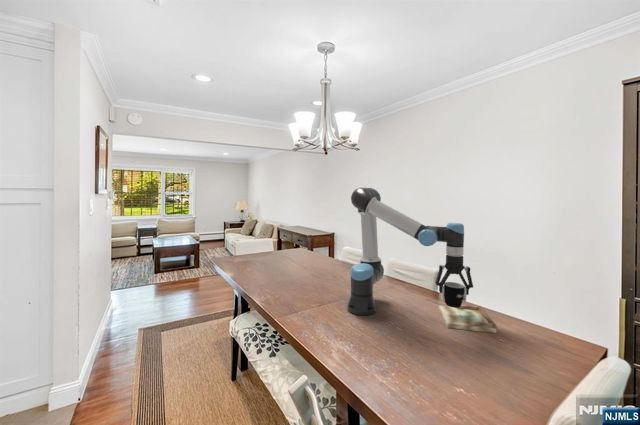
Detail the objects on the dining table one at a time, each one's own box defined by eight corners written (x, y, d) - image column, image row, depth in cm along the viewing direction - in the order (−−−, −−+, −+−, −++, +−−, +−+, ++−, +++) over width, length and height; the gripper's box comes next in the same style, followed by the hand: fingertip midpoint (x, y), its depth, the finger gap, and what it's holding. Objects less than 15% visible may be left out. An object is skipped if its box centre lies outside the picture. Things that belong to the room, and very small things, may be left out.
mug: (456, 310, 126) (457, 289, 125) (438, 303, 134) (440, 283, 133) (470, 305, 132) (472, 285, 132) (453, 299, 140) (454, 280, 139)
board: (447, 327, 124) (447, 320, 124) (438, 309, 145) (438, 302, 145) (496, 332, 120) (496, 325, 119) (480, 313, 140) (480, 306, 140)
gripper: (431, 255, 130) (430, 301, 132) (482, 257, 125) (480, 305, 127) (429, 252, 138) (428, 295, 139) (477, 254, 133) (475, 299, 134)
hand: (453, 300), depth 133 cm, fingers closed on mug, 9 cm apart
